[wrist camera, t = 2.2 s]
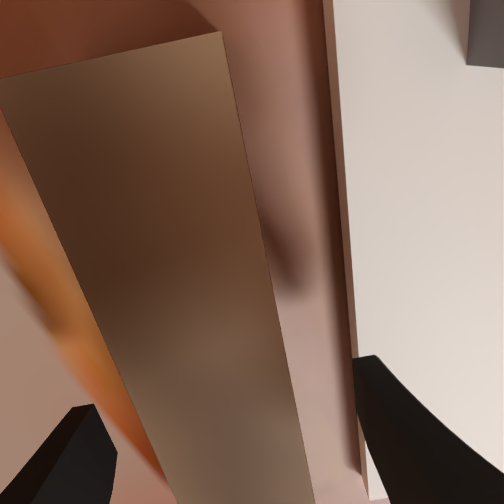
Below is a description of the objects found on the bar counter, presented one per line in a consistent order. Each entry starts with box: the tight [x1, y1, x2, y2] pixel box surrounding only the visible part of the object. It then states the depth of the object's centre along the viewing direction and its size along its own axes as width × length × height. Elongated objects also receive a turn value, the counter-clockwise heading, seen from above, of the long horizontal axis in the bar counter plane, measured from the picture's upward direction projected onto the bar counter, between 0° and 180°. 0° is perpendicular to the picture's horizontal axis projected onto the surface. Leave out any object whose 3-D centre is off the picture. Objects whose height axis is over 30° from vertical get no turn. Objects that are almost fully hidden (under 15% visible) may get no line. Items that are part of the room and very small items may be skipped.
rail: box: [0, 31, 315, 504], centre depth 12 cm, size 4×18×4 cm, turn 11°
